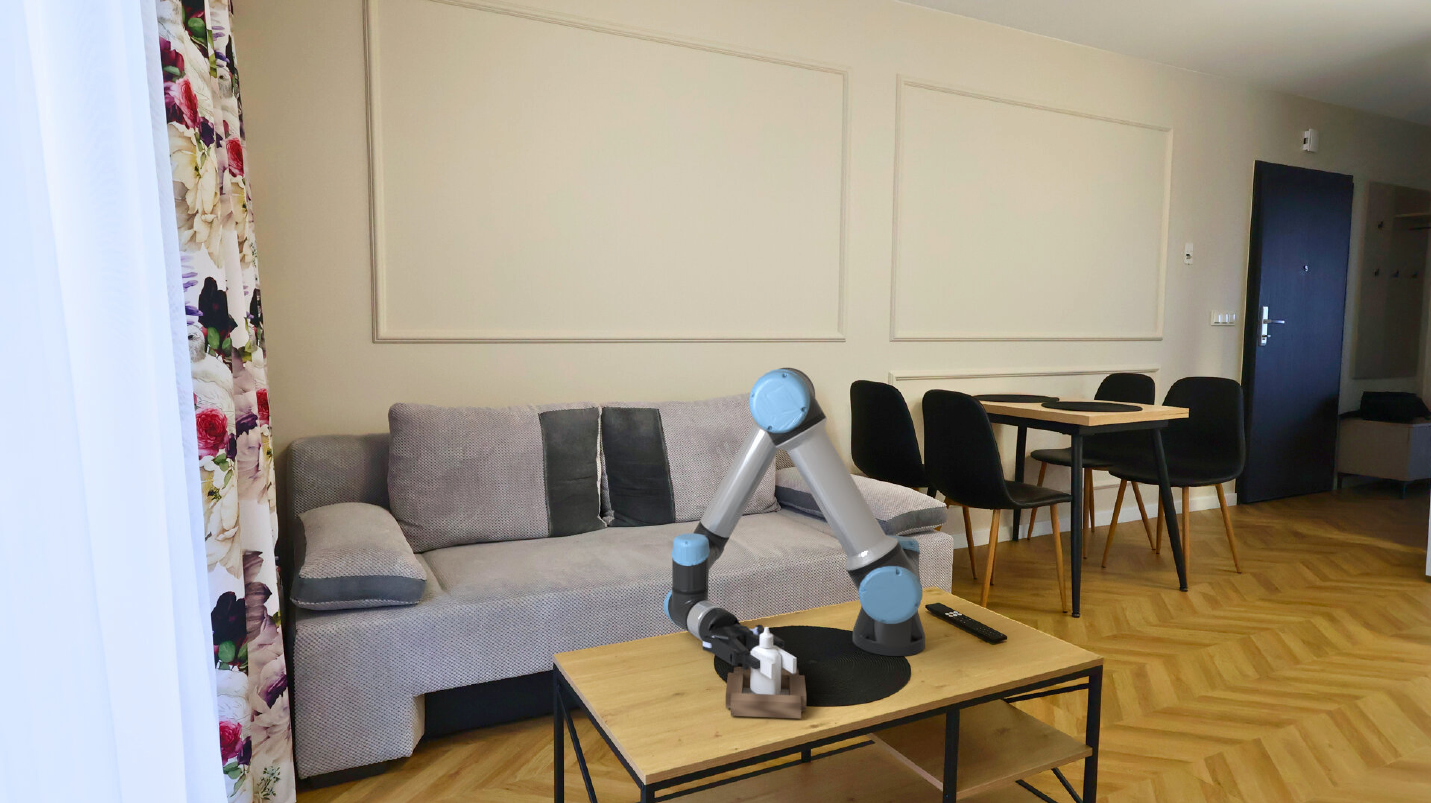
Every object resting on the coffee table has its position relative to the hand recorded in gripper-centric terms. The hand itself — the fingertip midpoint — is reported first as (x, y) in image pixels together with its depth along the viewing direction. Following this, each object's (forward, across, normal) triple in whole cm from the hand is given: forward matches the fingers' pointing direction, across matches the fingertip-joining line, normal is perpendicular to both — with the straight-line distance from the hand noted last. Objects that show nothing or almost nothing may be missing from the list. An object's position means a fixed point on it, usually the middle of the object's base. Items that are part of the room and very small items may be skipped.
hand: (783, 668), depth 142 cm
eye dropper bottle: (-5, 0, -7) cm, 9 cm away
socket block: (-5, 0, -8) cm, 10 cm away
